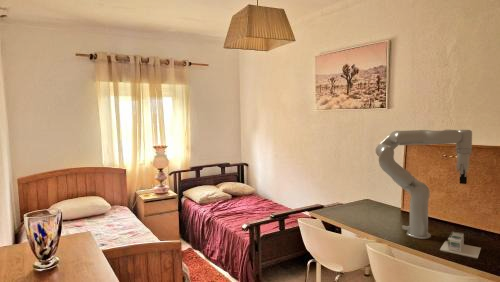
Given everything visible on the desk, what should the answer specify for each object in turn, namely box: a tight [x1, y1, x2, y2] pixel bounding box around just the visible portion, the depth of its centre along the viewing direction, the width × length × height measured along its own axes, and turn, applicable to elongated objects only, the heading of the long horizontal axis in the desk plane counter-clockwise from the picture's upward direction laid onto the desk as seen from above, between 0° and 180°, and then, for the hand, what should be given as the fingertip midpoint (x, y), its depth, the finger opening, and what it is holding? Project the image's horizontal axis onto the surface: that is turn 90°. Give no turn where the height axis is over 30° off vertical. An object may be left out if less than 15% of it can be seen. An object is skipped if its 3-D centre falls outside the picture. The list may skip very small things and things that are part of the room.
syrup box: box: [447, 231, 465, 252], centre depth 167 cm, size 6×6×14 cm
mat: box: [439, 240, 482, 259], centre depth 165 cm, size 16×15×1 cm
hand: (463, 183), depth 181 cm, fingers closed
